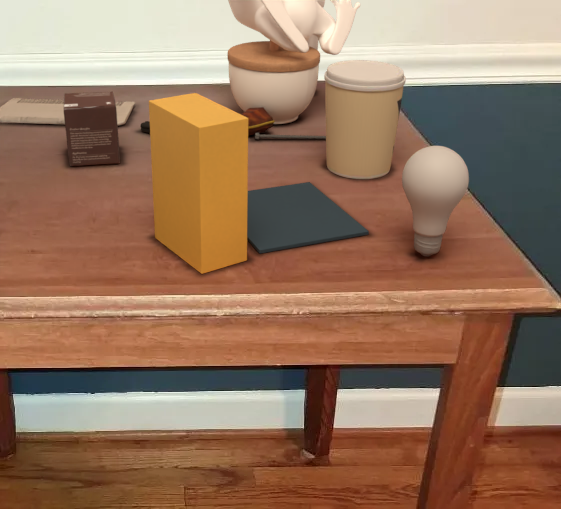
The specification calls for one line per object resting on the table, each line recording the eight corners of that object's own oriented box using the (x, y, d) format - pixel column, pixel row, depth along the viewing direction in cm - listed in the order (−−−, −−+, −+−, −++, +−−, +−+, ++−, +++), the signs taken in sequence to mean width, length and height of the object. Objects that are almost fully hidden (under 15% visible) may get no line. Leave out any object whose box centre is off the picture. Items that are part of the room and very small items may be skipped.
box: (118, 147, 106) (114, 90, 103) (120, 165, 101) (116, 105, 98) (68, 150, 105) (63, 92, 102) (68, 167, 100) (62, 107, 96)
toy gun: (277, 133, 112) (235, 156, 105) (186, 120, 120) (141, 140, 112) (276, 107, 111) (233, 129, 103) (184, 96, 118) (138, 115, 110)
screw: (255, 131, 110) (254, 138, 111) (255, 133, 109) (255, 140, 110) (330, 133, 111) (330, 140, 112) (332, 135, 110) (331, 142, 111)
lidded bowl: (269, 97, 126) (270, 23, 121) (335, 116, 119) (340, 38, 114) (208, 115, 118) (207, 36, 113) (276, 137, 111) (278, 53, 106)
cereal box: (201, 274, 77) (198, 127, 71) (154, 237, 84) (148, 100, 77) (247, 260, 80) (248, 118, 73) (198, 226, 86) (195, 92, 80)
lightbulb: (465, 250, 83) (480, 144, 78) (446, 275, 78) (461, 164, 73) (406, 236, 85) (418, 132, 80) (385, 260, 81) (395, 151, 76)
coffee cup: (412, 175, 100) (422, 75, 95) (344, 186, 97) (351, 84, 91) (370, 150, 108) (378, 56, 102) (306, 160, 104) (310, 63, 99)
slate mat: (259, 253, 81) (259, 250, 81) (210, 199, 92) (210, 196, 92) (368, 234, 86) (369, 231, 85) (309, 185, 97) (309, 181, 97)
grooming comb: (10, 96, 122) (11, 101, 122) (-14, 118, 113) (-13, 123, 113) (137, 99, 121) (137, 105, 122) (122, 122, 112) (122, 127, 113)
